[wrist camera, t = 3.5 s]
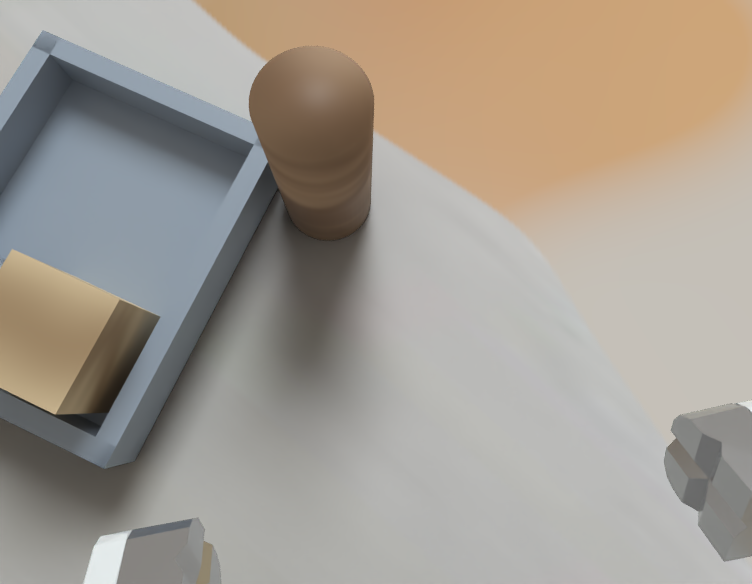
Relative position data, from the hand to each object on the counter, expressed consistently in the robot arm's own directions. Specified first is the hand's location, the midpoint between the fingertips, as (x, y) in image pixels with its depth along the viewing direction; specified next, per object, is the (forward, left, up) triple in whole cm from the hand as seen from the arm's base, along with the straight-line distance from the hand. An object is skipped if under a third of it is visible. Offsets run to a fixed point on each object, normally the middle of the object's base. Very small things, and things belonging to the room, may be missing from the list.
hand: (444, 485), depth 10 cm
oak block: (-2, +12, -12) cm, 17 cm away
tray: (+2, +14, -13) cm, 19 cm away
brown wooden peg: (+8, +7, -13) cm, 17 cm away
